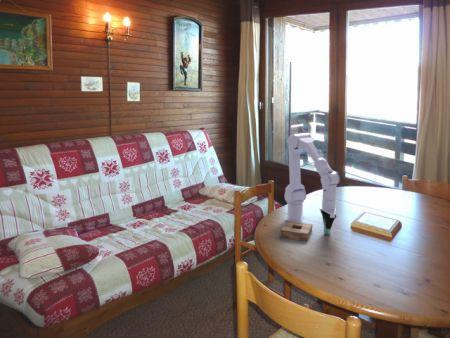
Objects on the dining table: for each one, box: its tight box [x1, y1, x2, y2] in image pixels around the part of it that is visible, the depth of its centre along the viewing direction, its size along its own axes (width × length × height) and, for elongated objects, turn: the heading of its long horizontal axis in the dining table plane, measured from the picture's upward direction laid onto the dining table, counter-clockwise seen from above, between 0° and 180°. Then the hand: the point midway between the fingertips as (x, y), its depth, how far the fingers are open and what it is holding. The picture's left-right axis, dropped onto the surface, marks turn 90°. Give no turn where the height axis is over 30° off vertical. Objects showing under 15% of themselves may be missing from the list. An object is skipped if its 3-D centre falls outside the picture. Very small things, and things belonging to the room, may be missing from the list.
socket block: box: [280, 221, 313, 242], centre depth 179 cm, size 12×12×4 cm
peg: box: [323, 218, 332, 235], centre depth 178 cm, size 3×3×9 cm
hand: (327, 227), depth 178 cm, fingers closed on peg, 3 cm apart
